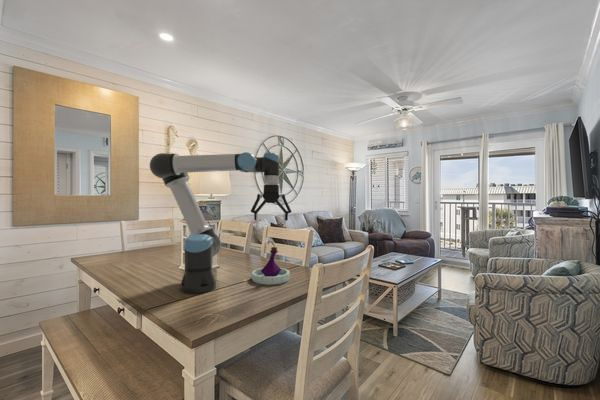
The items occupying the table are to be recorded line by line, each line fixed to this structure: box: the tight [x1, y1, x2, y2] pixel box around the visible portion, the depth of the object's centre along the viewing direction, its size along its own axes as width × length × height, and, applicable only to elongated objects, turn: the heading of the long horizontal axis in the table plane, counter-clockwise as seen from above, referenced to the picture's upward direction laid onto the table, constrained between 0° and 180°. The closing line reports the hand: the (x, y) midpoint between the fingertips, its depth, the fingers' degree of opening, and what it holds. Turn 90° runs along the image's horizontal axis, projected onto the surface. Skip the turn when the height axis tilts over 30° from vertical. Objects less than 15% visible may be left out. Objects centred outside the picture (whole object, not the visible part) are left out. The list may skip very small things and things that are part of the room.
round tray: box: [251, 267, 291, 286], centre depth 145 cm, size 18×18×4 cm
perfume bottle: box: [261, 240, 281, 277], centre depth 146 cm, size 8×8×18 cm
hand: (270, 227), depth 145 cm, fingers open, 13 cm apart
